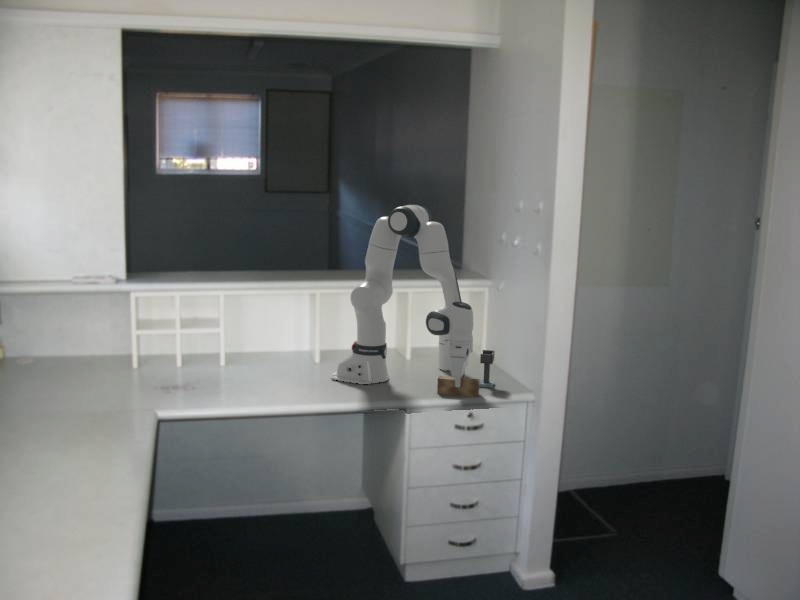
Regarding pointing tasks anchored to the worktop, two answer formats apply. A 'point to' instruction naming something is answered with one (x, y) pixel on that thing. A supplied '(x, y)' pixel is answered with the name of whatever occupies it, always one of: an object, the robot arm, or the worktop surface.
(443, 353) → the cylindrical container
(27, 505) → the worktop surface
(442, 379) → the rail
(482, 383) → the stand
